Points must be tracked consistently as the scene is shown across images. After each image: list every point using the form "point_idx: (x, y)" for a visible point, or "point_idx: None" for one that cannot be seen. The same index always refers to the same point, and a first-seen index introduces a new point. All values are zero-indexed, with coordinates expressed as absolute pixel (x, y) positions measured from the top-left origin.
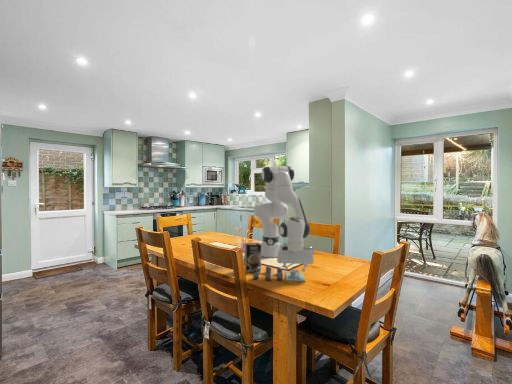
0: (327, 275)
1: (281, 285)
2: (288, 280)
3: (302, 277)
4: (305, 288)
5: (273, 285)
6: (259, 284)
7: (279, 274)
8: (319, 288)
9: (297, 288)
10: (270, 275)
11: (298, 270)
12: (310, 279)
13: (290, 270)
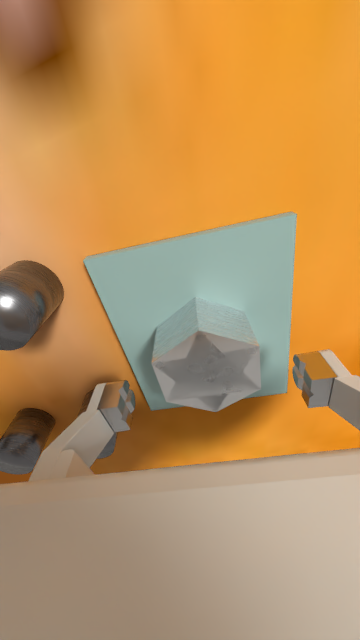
0: None
1: (144, 452)
2: (166, 405)
3: (274, 343)
4: (272, 453)
5: (106, 459)
6: (36, 463)
7: (96, 458)
8: (352, 440)
9: (231, 460)
10: (37, 453)
11: (249, 350)
12: (340, 336)
13: (156, 373)
